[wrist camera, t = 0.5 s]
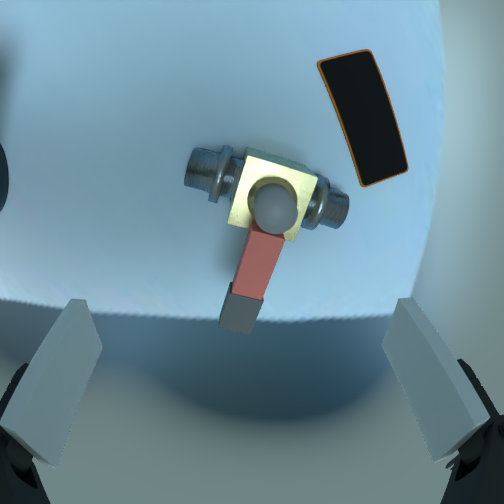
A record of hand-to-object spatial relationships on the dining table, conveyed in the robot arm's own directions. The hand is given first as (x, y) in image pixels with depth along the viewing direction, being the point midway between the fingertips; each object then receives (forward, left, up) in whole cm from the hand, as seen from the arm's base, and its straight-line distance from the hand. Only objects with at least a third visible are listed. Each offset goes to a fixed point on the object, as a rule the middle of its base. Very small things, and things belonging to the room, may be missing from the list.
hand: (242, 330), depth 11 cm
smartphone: (+12, +13, -26) cm, 31 cm away
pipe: (+3, 0, -25) cm, 25 cm away
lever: (+3, -5, -18) cm, 19 cm away
